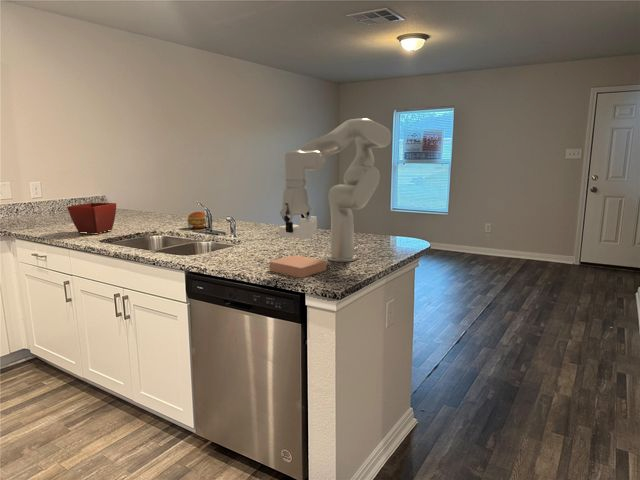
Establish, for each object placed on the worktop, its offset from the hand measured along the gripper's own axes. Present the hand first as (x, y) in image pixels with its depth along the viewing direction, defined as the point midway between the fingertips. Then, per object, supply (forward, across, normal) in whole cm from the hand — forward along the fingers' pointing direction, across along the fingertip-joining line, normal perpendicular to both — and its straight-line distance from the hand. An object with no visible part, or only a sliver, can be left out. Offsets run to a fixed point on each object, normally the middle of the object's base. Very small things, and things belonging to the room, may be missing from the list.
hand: (296, 230), depth 170 cm
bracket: (+2, 0, +1) cm, 2 cm away
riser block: (+16, 0, 0) cm, 16 cm away
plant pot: (+16, +9, -156) cm, 157 cm away
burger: (+16, -38, -119) cm, 126 cm away
